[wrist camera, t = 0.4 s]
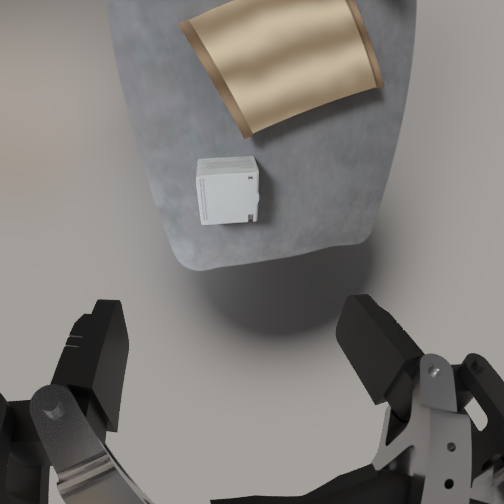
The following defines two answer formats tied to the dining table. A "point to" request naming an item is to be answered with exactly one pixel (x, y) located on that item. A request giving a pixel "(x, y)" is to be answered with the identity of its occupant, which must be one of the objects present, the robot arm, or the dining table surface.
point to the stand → (283, 56)
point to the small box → (227, 190)
